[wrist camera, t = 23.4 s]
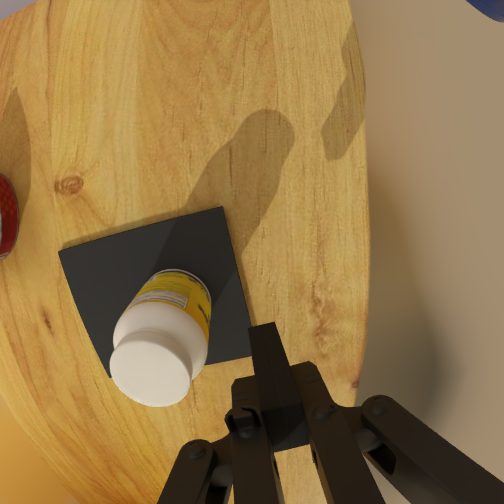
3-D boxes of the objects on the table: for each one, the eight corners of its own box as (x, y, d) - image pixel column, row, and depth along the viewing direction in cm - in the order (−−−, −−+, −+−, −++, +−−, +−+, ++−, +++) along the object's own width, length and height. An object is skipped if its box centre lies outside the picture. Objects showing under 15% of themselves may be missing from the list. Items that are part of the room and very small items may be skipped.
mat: (222, 206, 24) (222, 206, 23) (257, 351, 27) (258, 354, 27) (60, 250, 24) (57, 251, 23) (110, 375, 27) (109, 378, 26)
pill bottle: (207, 337, 26) (198, 424, 15) (141, 324, 25) (100, 403, 15) (217, 273, 25) (212, 341, 14) (146, 260, 24) (93, 316, 13)
